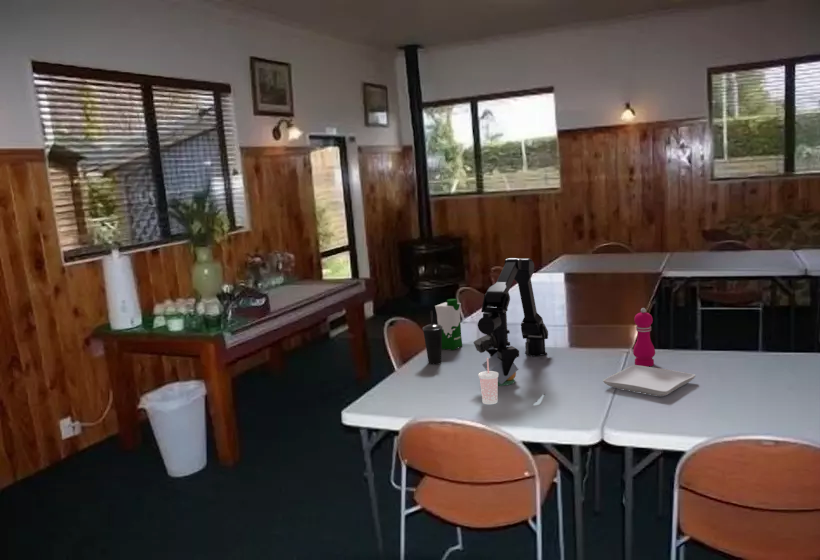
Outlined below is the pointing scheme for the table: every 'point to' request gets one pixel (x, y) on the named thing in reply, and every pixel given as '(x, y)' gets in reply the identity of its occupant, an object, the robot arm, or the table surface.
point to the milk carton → (450, 323)
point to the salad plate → (649, 380)
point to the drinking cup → (433, 341)
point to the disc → (506, 383)
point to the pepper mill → (643, 340)
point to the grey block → (499, 368)
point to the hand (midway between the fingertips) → (500, 372)
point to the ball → (511, 377)
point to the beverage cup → (489, 386)
